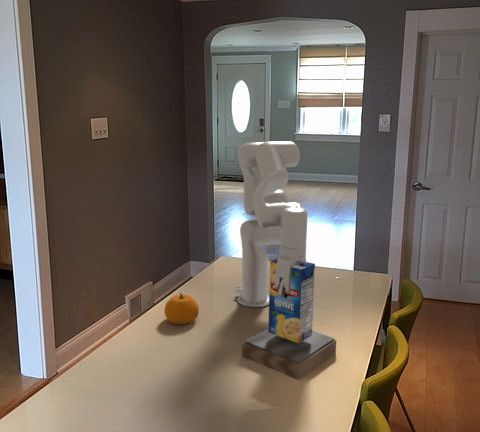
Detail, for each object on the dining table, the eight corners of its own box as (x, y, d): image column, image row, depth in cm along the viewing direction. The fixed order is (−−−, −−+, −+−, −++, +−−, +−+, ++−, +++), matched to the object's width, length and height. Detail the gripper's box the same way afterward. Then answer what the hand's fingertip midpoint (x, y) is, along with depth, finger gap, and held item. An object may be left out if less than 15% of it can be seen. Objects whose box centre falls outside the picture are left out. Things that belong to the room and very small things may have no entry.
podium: (242, 356, 152) (242, 340, 151) (281, 334, 167) (281, 319, 166) (298, 379, 140) (299, 363, 138) (335, 353, 155) (336, 338, 153)
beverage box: (299, 343, 146) (301, 269, 141) (268, 332, 153) (269, 261, 148) (312, 335, 151) (315, 263, 146) (281, 324, 158) (283, 256, 153)
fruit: (165, 329, 170) (165, 300, 168) (163, 314, 181) (163, 288, 179) (201, 326, 172) (200, 298, 170) (196, 312, 183) (196, 286, 181)
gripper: (297, 243, 155) (295, 300, 159) (265, 254, 143) (264, 316, 147) (318, 247, 150) (316, 307, 154) (287, 260, 138) (285, 323, 142)
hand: (290, 311), depth 150 cm, fingers closed on beverage box
